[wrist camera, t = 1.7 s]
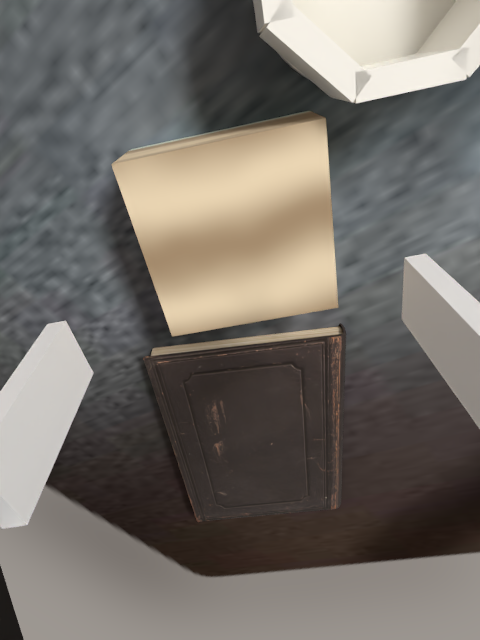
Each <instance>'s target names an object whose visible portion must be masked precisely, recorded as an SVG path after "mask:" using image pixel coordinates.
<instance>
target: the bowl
mask: <svg viewBox="0 0 480 640" xmlns="http://www.w3.org/2000/svg"><path fill="white" fill-rule="evenodd" d="M253 4H254V10H255V18H256V25H257V32H258V33H261V32H262V33H261V34H260V36H259V37H260V38H262V39H263V40H264V41H265V42H266V43H267V44H269V45H270V46H271V47H272V48H273V49H274V50H276V51H277V53H278V54H279V55H280V56H281V58H282V59H283V60H284V61H285V62H286V63H287V64H288V65H289V66H290V67H291V68H292V69H294V70H295V71H296V72H298V73H299V74H301V75H302V76H303V77H305V78H307V79H309V80H311V81H312V82H313V83H314V84H315V85H317V86H318V87H319V88H320V89H321V90H322V91H324V92H325V93H326V94H327V95H328V96H329V97H331V98H335V99H339V100H343V101H348V102H352V103H361V102H365V101H370V100H374V99H379V98H384V97H388V96H393V95H397V94H402V93H407V92H411V91H416V90H420V89H425V88H429V87H434V86H439V85H443V84H448V83H452V82H457V81H462V80H466V77H470V76H471V75H472V74H473V73H474V71H475V70H476V69H477V68H478V67H479V65H480V0H253Z"/></svg>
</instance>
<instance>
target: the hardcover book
mask: <svg viewBox="0 0 480 640" xmlns="http://www.w3.org/2000/svg"><path fill="white" fill-rule="evenodd" d="M345 349H346V331H345V328H344V326H343V325H342V324H340V325H339V327H331V328H323V329H314V330H306V331H297V332H288V333H280V334H271V335H262V336H254V337H245V338H236V339H228V340H219V341H210V342H202V343H193V344H185V345H176V346H167V347H159V348H153V349H152V352H151V356H146V357H144V358H143V359H144V362H145V365H146V368H147V371H148V374H149V377H150V380H151V383H152V386H153V389H154V392H155V395H156V398H157V402H158V405H159V408H160V411H161V414H162V417H163V420H164V423H165V426H166V429H167V432H168V435H169V438H170V441H171V444H172V447H173V450H174V453H175V456H176V459H177V462H178V465H179V468H180V471H181V474H182V477H183V480H184V483H185V486H186V489H187V493H188V496H189V499H190V502H191V505H192V508H193V511H194V514H195V517H196V520H197V522H199V521H210V520H221V519H231V518H242V517H253V516H263V515H274V514H285V513H296V512H306V511H317V510H328V509H337V508H338V507H339V506H340V505H341V486H342V452H343V417H344V383H345Z"/></svg>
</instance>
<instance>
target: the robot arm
mask: <svg viewBox="0 0 480 640" xmlns="http://www.w3.org/2000/svg"><path fill="white" fill-rule="evenodd" d="M402 320H403V322H404V323H405V325H406V326H407V327H408V329H409V330H410V332H411V333H412V334H413V336H414V337H415V339H416V340H417V341H418V343H419V344H420V346H421V347H422V348H423V350H424V351H425V353H426V354H427V356H428V357H429V358H430V360H431V361H432V363H433V364H434V365H435V367H436V368H437V370H438V371H439V372H440V374H441V375H442V377H443V378H444V379H445V381H446V382H447V384H448V385H449V386H450V388H451V389H452V391H453V392H454V394H455V395H456V396H457V398H458V399H459V401H460V402H461V403H462V405H463V406H464V408H465V409H466V410H467V412H468V413H469V415H470V416H471V417H472V419H473V420H474V422H475V423H476V424H477V426H478V427H479V429H480V303H479V302H478V301H477V300H476V299H475V298H474V297H473V296H472V295H471V294H469V293H468V292H467V291H466V290H465V289H464V288H463V287H462V286H461V285H460V284H458V283H457V282H456V281H455V280H454V279H453V278H452V277H451V276H450V275H449V274H447V273H446V272H445V271H444V270H443V269H442V268H441V267H440V266H439V265H438V264H437V263H435V262H434V261H433V260H432V259H431V258H430V257H429V256H428V255H427V254H421V255H415V256H410V257H405V258H404V279H403V302H402ZM92 375H93V371H92V369H91V368H90V366H89V364H88V362H87V360H86V358H85V356H84V354H83V352H82V351H81V349H80V347H79V345H78V343H77V341H76V339H75V337H74V335H73V333H72V332H71V330H70V328H69V326H68V324H67V322H66V321H62V322H56V323H51V324H47V325H46V327H45V328H44V330H43V331H42V333H41V334H40V335H39V337H38V338H37V340H36V341H35V343H34V344H33V345H32V347H31V348H30V350H29V351H28V353H27V354H26V355H25V357H24V358H23V360H22V361H21V363H20V364H19V365H18V367H17V368H16V370H15V371H14V373H13V374H12V375H11V377H10V378H9V380H8V381H7V383H6V384H5V385H4V387H3V388H2V390H1V391H0V527H1V528H2V529H5V528H12V527H18V526H26V525H28V523H29V520H30V518H31V516H32V514H33V511H34V509H35V506H36V504H37V502H38V500H39V497H40V495H41V493H42V490H43V488H44V486H45V484H46V481H47V479H48V477H49V474H50V472H51V470H52V467H53V465H54V463H55V461H56V458H57V456H58V454H59V451H60V449H61V447H62V444H63V442H64V440H65V437H66V435H67V433H68V431H69V428H70V426H71V424H72V421H73V419H74V417H75V414H76V412H77V410H78V408H79V405H80V403H81V401H82V398H83V396H84V394H85V391H86V389H87V387H88V385H89V382H90V380H91V378H92ZM0 640H23V636H22V633H21V630H20V627H19V624H18V620H17V617H16V614H15V611H14V608H13V605H12V602H11V598H10V595H9V592H8V589H7V586H6V582H5V579H4V576H3V573H2V569H1V566H0Z"/></svg>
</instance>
